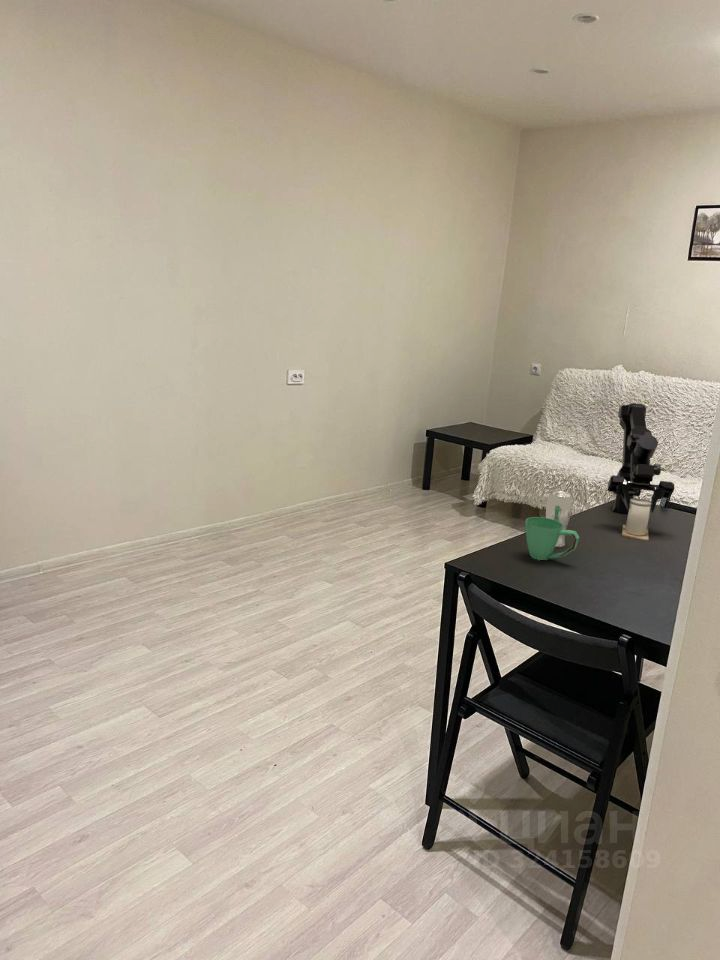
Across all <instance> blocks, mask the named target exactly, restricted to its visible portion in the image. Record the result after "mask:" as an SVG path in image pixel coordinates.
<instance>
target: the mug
mask: <svg viewBox="0 0 720 960" xmlns="http://www.w3.org/2000/svg"><path fill="white" fill-rule="evenodd" d="M524 526H525V534H526V535H525V536H526V537H525V538H526V543H527V544H526V545H527V549H528V553H529V557H530V556H531V557H532V558H531V557H530V558H531V559H533V558H534V559H533V560H535V559H537V560H536V561H540V560H546V561H548V560H551V559H556V558H562V557H563V558H564V557H565V556H566V555H569V554H570V553H572V552H574V551H575V550H576V549H577V545H578V543H579V540H580V536H579V534H578V532H577V531H576V530H572V529H571V530H570V529H566V530H562V528H563V525H562V523H560V522H559V521H556V520H553V519H549V518H546V517H542V516H541V517H540V516H533V517H531V516H530V517H527V518H526V519H525V525H524ZM560 535H565V536H571V537H573V539H574V540H573V544H572V545H571V546H570V547H568V548H567V549H566V550H564V551H563V552H558V553H553V552H554V550H555V548H556V547H555V546H556V544H557V541H558V538H559V536H560Z"/></svg>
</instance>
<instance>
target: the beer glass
mask: <svg viewBox="0 0 720 960" xmlns="http://www.w3.org/2000/svg"><path fill="white" fill-rule="evenodd" d="M573 496H574V495H573V494H572V493H570V492H567V491H563V490H551V491H549V492H548V498H547V501H546V502H547V503H546V507H545V518H549V519H553V520H556V521H559V522H560V523H562V525H563V528H562V530H567V528H568V524H569V521H570V517H571V514H572V511H573V510H572V508H573ZM565 537H566V535H560V536H559V538H558V541H557V544H556V546H555V548H563V547H565V545H566V543H565V542H566V541H565V540H566V538H565Z"/></svg>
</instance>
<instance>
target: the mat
mask: <svg viewBox="0 0 720 960" xmlns="http://www.w3.org/2000/svg"><path fill="white" fill-rule="evenodd" d="M625 529H626V524H622V530H621V531H622V532H621V536H623V538H628V537H629V538H630V539H636V540H641V541H647V542H649V528H648V527H647V530H646V535H634V534H630V533H628V532H626V531H625ZM629 538H628V539H629Z"/></svg>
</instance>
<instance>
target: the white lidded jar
mask: <svg viewBox="0 0 720 960" xmlns="http://www.w3.org/2000/svg"><path fill="white" fill-rule="evenodd" d="M651 504H652V503H651V501H650V500H648V499H644V498H635V497H634V498H633V499H631V500H630V508H629V512H628V514H627V519H626V524H625V525H626V529H625V531H626V532H628V533H630V534H634V535H646V530H647V528H648V523H649V519H650V513H651Z"/></svg>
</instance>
